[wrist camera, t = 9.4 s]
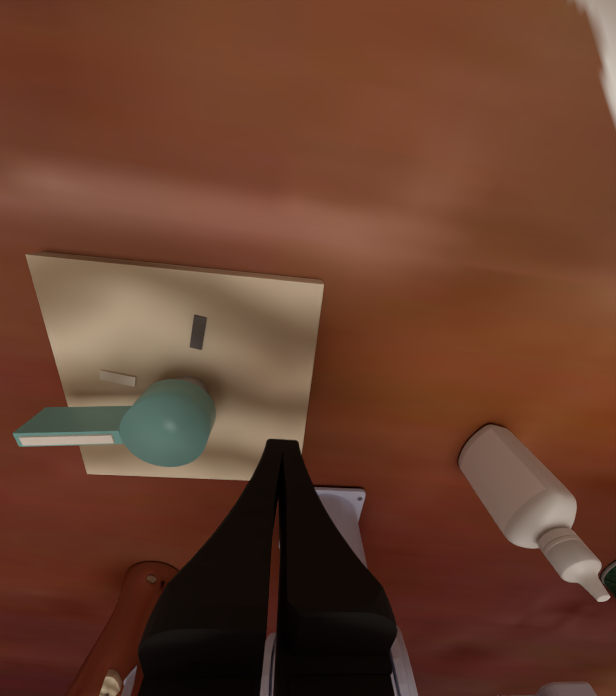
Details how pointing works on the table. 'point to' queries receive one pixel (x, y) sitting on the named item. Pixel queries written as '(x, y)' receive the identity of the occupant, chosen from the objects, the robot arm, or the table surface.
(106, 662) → the beer glass
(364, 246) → the table surface
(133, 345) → the post base
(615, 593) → the canned tomato
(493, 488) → the eye dropper bottle
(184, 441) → the knob
